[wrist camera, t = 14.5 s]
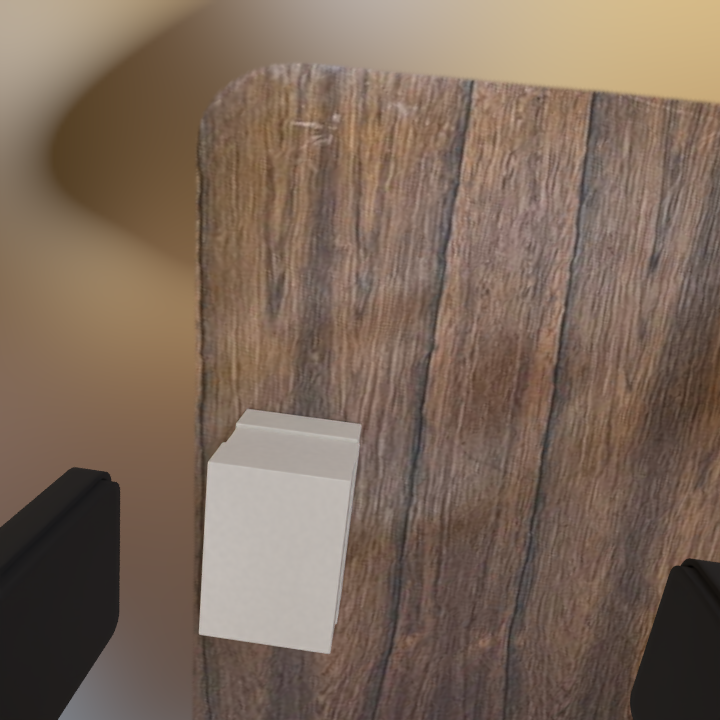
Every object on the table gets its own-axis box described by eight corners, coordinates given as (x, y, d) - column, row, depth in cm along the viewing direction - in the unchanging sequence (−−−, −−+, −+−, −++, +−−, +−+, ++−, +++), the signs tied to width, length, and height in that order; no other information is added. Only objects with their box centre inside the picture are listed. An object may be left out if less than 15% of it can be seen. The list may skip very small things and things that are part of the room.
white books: (246, 408, 36) (222, 440, 31) (363, 423, 35) (357, 458, 31) (236, 555, 38) (212, 606, 34) (345, 571, 38) (336, 624, 33)
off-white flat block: (222, 441, 31) (207, 461, 29) (355, 459, 31) (351, 481, 28) (212, 604, 34) (198, 635, 31) (335, 622, 33) (329, 654, 31)
